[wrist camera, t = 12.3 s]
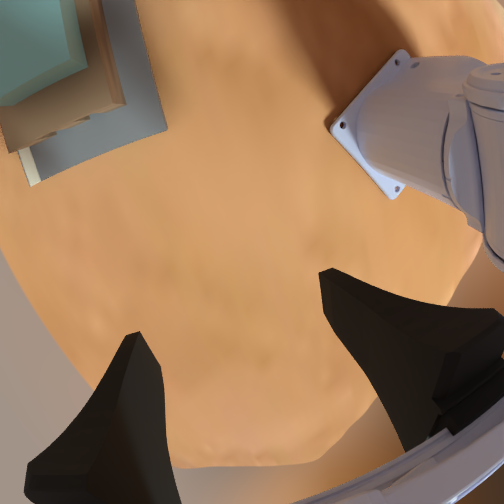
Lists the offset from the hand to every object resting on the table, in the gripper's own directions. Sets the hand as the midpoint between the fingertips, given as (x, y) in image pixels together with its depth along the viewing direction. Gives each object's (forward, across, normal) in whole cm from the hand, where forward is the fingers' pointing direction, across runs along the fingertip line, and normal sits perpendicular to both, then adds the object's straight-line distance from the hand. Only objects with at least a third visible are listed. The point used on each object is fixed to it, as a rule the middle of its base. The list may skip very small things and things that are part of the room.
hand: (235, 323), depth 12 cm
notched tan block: (+8, +5, -14) cm, 17 cm away
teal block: (+4, +5, -14) cm, 15 cm away
